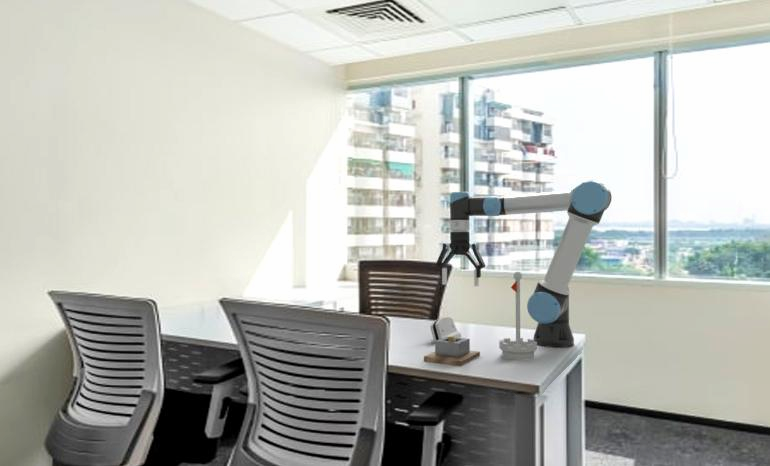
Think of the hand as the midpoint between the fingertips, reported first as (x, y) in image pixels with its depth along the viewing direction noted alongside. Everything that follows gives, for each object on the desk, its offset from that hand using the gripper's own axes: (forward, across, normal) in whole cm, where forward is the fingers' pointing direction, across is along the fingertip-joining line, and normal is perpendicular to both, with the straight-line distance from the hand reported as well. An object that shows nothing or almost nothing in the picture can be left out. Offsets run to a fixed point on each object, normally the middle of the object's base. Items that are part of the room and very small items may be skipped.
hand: (460, 285), depth 228 cm
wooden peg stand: (+23, +8, -25) cm, 35 cm away
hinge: (+23, -8, +3) cm, 25 cm away
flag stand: (+23, +27, -11) cm, 37 cm away
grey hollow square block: (+21, +8, -25) cm, 34 cm away
